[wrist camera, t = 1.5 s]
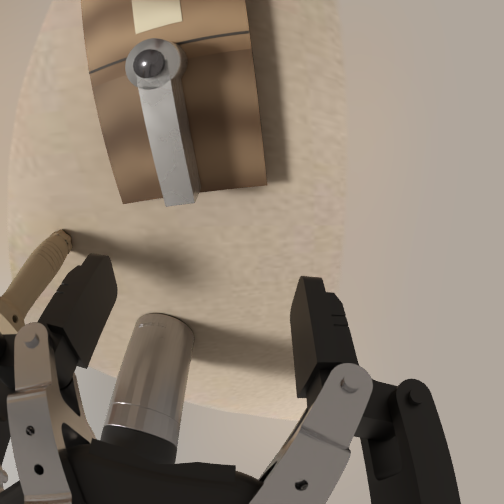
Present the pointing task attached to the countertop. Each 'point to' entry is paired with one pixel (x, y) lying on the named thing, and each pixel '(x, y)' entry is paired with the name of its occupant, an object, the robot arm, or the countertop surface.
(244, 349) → the countertop surface
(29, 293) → the handle
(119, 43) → the board
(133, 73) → the latch bar
